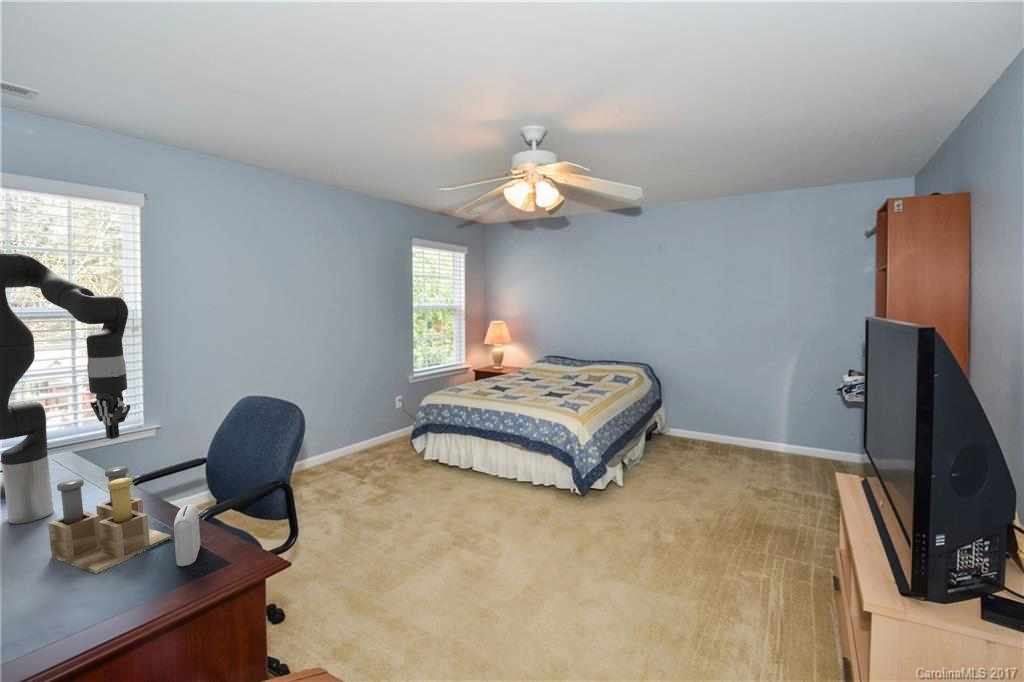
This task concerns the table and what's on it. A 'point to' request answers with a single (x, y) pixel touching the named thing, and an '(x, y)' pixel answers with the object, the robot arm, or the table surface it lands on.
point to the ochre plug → (121, 499)
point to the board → (103, 537)
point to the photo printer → (187, 535)
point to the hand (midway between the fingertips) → (113, 437)
